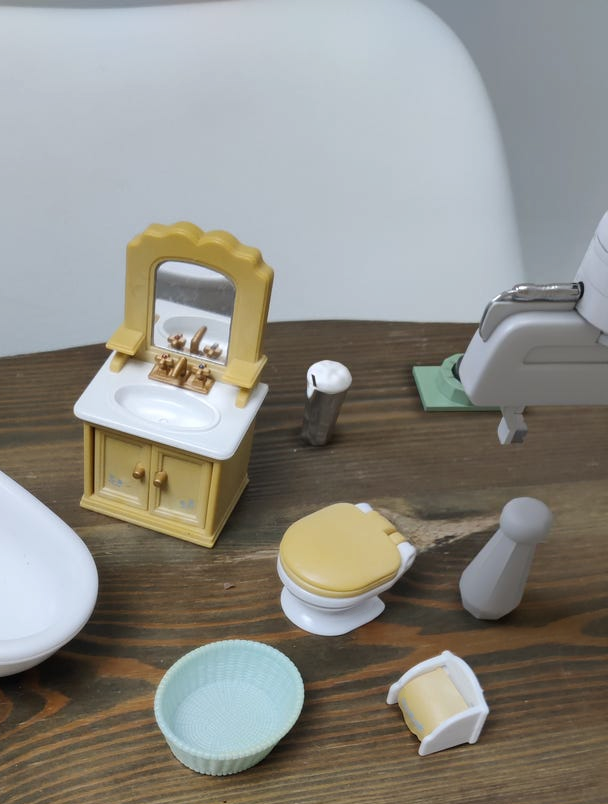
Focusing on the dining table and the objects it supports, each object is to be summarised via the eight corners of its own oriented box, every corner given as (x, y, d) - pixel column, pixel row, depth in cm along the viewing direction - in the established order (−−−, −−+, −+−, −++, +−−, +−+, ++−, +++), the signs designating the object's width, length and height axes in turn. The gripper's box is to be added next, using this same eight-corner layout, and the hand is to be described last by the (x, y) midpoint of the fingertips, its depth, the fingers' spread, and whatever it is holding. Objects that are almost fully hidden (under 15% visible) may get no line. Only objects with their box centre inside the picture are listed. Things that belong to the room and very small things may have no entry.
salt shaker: (450, 620, 93) (495, 527, 82) (453, 575, 96) (497, 480, 86) (513, 633, 92) (566, 541, 82) (514, 587, 95) (565, 492, 85)
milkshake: (281, 437, 107) (295, 363, 99) (313, 416, 109) (330, 341, 101) (312, 459, 105) (329, 385, 97) (344, 437, 107) (364, 363, 99)
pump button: (484, 364, 112) (488, 353, 111) (493, 387, 110) (497, 376, 108) (449, 364, 112) (453, 353, 110) (457, 387, 109) (462, 376, 108)
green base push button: (504, 370, 115) (511, 352, 113) (521, 410, 111) (528, 393, 108) (411, 371, 114) (417, 353, 112) (425, 411, 110) (431, 394, 108)
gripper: (507, 314, 63) (446, 468, 75) (812, 311, 64) (707, 465, 76) (482, 257, 67) (427, 412, 78) (771, 255, 68) (677, 409, 79)
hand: (567, 438), depth 77 cm, fingers open, 8 cm apart
